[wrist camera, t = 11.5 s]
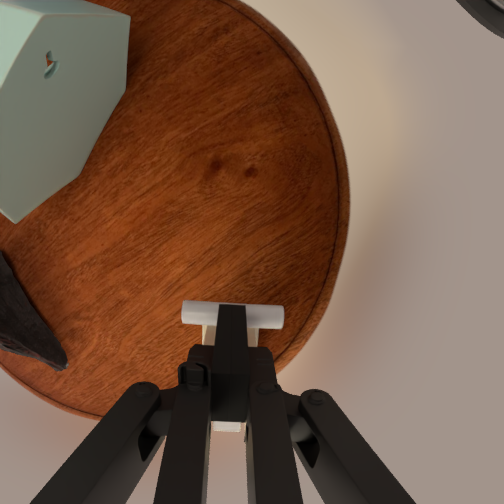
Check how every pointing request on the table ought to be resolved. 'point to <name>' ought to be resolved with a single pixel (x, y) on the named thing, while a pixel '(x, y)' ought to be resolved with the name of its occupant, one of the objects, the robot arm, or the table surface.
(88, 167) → the table surface
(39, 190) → the planter
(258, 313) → the faucet handle
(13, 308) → the rock
